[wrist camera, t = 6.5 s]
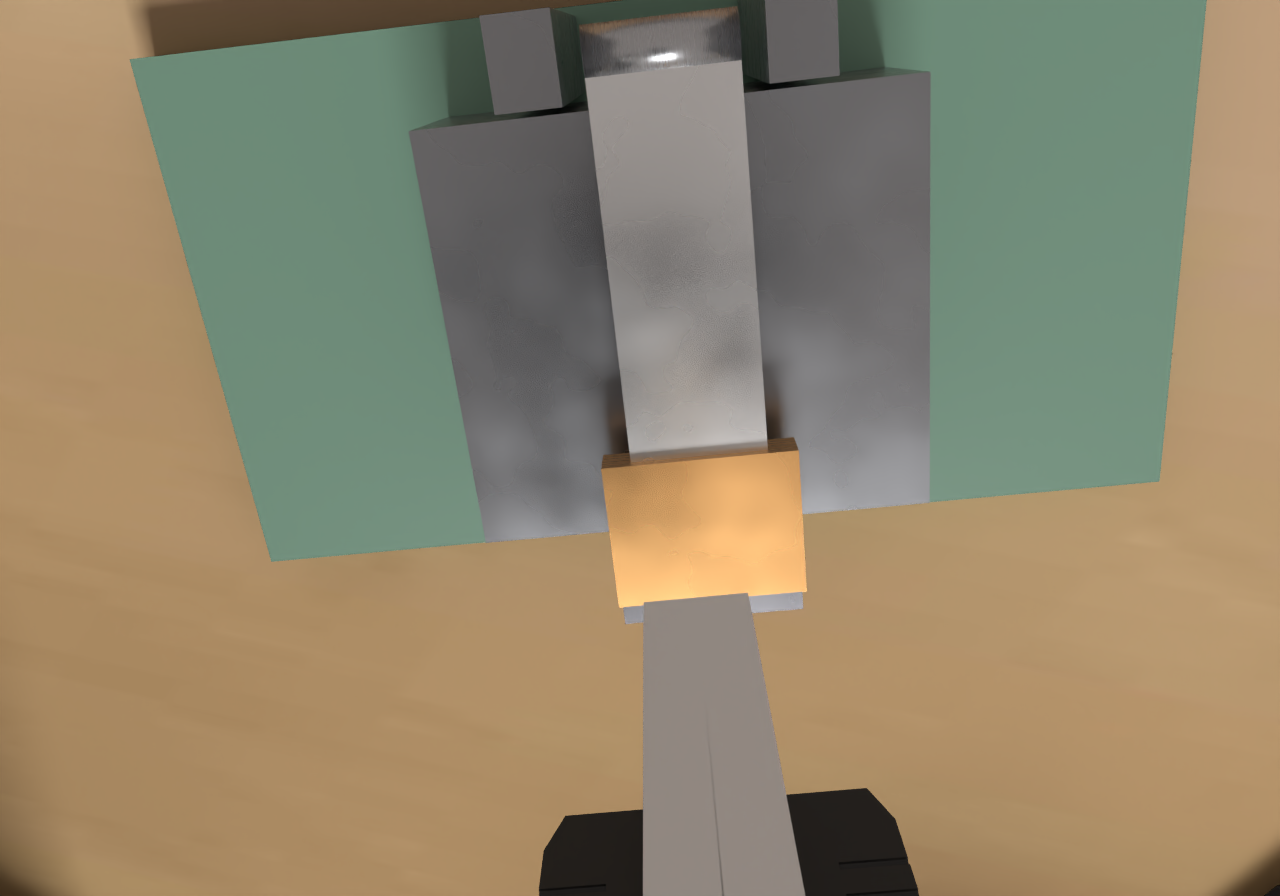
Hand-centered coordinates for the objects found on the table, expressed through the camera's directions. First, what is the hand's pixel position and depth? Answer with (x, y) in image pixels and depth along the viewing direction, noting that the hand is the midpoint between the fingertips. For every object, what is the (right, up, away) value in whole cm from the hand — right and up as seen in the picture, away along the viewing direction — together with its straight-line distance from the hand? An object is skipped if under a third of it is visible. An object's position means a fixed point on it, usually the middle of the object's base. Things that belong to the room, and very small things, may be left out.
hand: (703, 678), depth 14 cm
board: (0, +8, +11) cm, 13 cm away
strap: (0, +6, +5) cm, 8 cm away
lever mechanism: (0, +7, +10) cm, 12 cm away
